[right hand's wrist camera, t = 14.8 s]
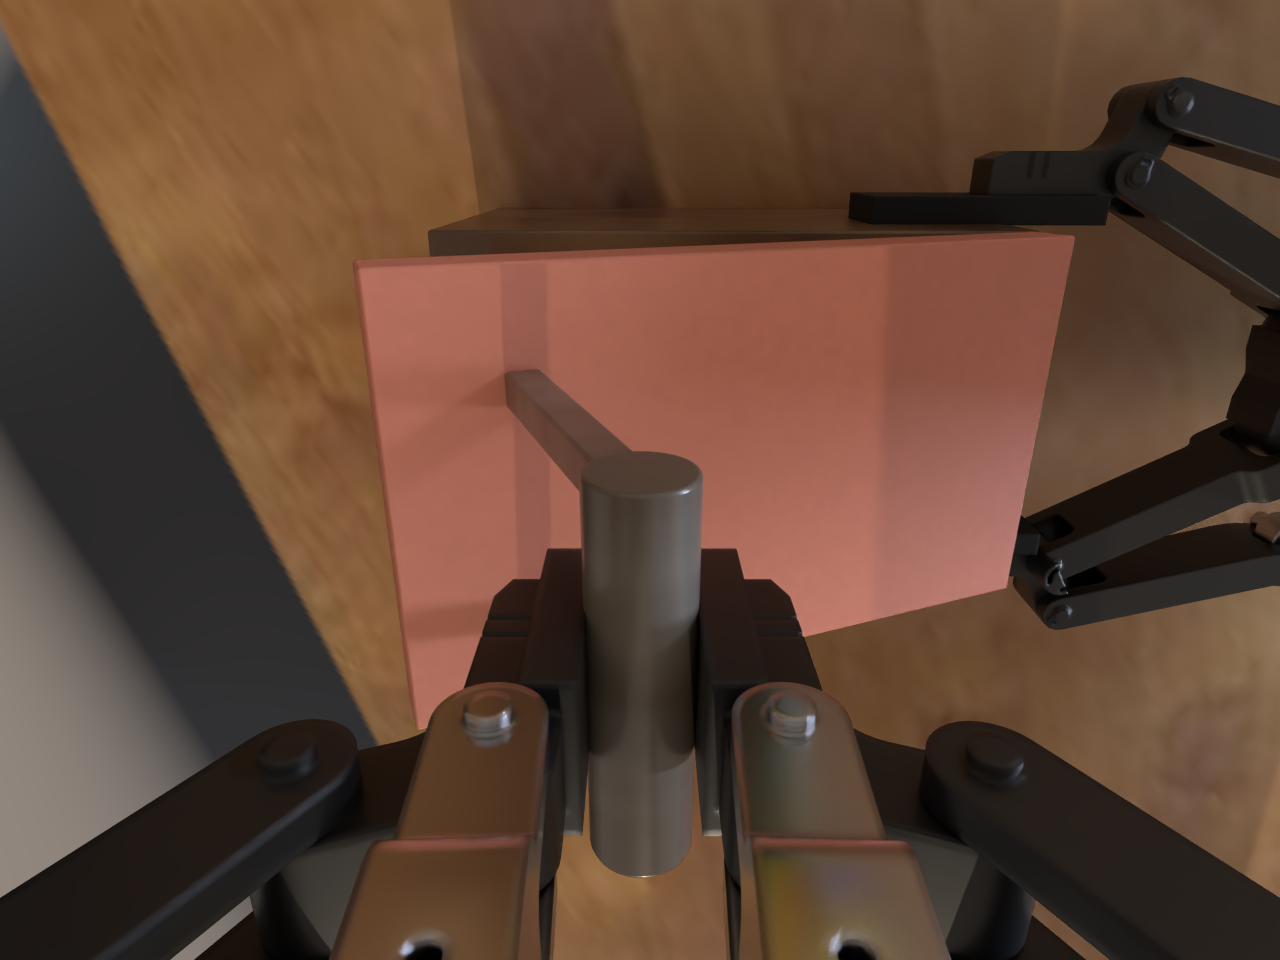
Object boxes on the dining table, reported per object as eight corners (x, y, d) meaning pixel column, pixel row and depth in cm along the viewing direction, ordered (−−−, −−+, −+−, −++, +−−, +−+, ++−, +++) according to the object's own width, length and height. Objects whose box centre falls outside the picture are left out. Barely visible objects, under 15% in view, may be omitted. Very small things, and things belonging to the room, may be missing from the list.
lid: (409, 696, 18) (480, 1035, 11) (352, 259, 14) (403, 353, 7) (974, 568, 24) (1256, 740, 17) (1034, 231, 20) (1426, 270, 13)
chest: (512, 451, 33) (458, 563, 24) (497, 208, 29) (427, 230, 20) (889, 453, 33) (981, 567, 24) (920, 208, 29) (1042, 231, 20)
